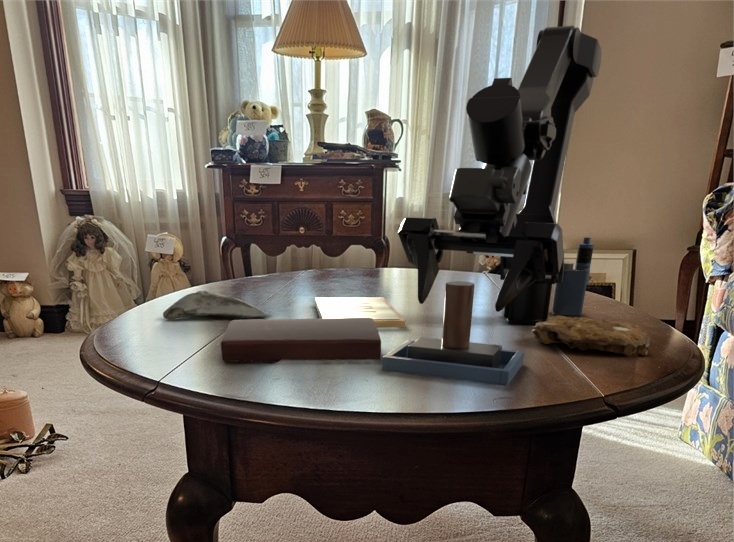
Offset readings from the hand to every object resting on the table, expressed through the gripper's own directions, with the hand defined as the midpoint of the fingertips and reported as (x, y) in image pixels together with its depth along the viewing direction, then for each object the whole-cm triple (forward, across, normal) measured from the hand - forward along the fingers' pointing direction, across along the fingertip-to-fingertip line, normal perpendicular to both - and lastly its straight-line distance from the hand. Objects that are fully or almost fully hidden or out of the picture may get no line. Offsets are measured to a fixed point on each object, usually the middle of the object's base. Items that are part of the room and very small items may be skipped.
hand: (457, 305), depth 74 cm
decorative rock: (-8, +12, +19) cm, 24 cm away
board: (-11, -25, +21) cm, 34 cm away
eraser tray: (+5, 0, +6) cm, 8 cm away
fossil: (-3, -44, +14) cm, 47 cm away
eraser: (+5, 0, +5) cm, 7 cm away
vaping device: (-25, +4, +36) cm, 44 cm away
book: (+6, -20, +5) cm, 22 cm away
